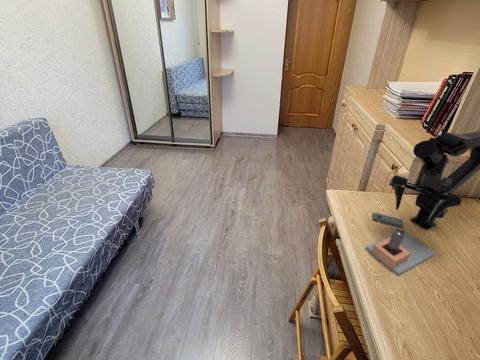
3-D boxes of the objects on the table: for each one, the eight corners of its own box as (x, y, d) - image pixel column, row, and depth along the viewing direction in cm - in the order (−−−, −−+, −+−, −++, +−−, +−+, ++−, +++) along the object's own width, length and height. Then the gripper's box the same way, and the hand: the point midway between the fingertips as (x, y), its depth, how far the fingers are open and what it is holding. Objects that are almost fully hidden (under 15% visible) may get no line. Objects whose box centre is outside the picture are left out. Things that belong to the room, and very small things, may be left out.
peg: (387, 250, 86) (398, 227, 80) (396, 257, 83) (407, 233, 78) (381, 253, 84) (392, 230, 79) (389, 260, 82) (401, 236, 77)
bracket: (402, 229, 97) (403, 225, 96) (372, 221, 101) (373, 217, 100) (401, 223, 101) (402, 219, 100) (371, 215, 104) (373, 212, 103)
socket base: (401, 232, 95) (405, 223, 93) (434, 255, 86) (440, 246, 84) (364, 249, 87) (368, 240, 85) (397, 276, 78) (402, 266, 76)
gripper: (405, 154, 79) (384, 201, 78) (479, 176, 71) (457, 228, 71) (397, 162, 89) (379, 204, 88) (462, 182, 81) (443, 228, 81)
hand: (412, 215), depth 82 cm, fingers open, 9 cm apart
